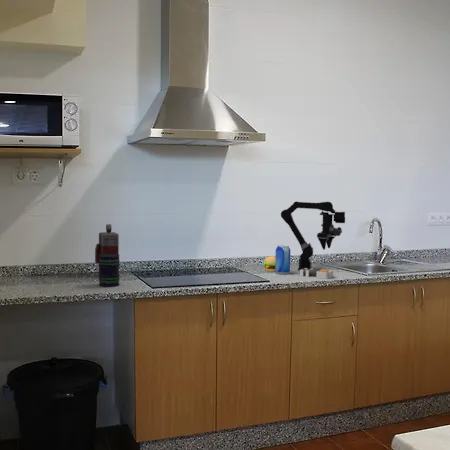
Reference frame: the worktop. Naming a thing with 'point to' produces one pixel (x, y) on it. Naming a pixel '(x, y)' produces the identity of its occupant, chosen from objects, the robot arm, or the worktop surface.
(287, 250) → the beer can
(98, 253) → the thermos flask
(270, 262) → the hamburger
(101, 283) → the storage jar
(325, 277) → the cream arch-shaped block
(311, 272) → the stamp-like rod
